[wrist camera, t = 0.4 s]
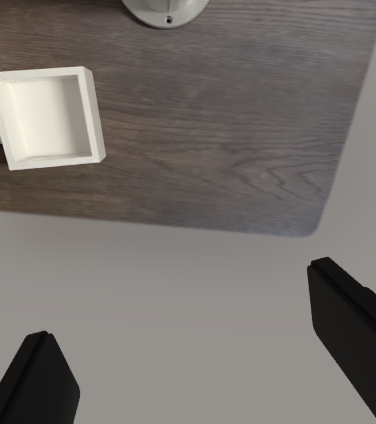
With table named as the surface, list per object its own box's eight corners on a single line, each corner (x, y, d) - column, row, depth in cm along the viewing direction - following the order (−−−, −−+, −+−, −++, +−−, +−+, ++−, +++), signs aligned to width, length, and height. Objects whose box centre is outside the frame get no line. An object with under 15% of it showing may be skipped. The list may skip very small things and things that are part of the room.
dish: (4, 77, 38) (-18, 73, 33) (91, 71, 39) (83, 66, 34) (26, 163, 42) (9, 170, 37) (105, 156, 42) (99, 162, 38)
